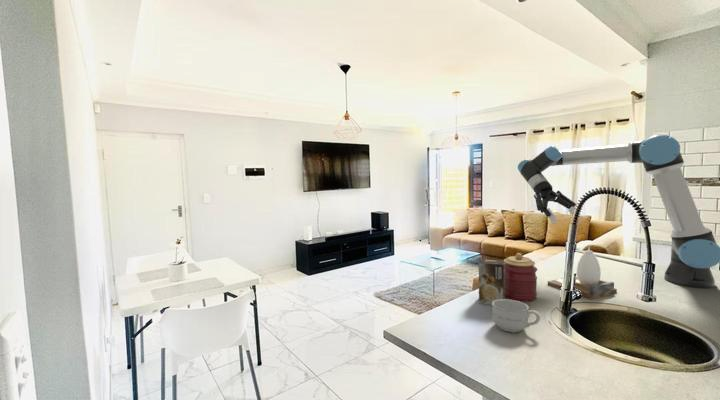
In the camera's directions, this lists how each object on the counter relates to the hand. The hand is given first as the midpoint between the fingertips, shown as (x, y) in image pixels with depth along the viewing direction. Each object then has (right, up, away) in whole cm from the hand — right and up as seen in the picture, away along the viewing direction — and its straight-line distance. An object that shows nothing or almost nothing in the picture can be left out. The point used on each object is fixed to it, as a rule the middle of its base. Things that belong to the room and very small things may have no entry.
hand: (567, 220), depth 141 cm
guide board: (+1, -28, -6) cm, 29 cm away
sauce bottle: (+2, -27, -9) cm, 29 cm away
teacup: (-42, -33, -39) cm, 66 cm away
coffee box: (-41, -31, -17) cm, 54 cm away
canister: (-28, -30, -12) cm, 42 cm away
